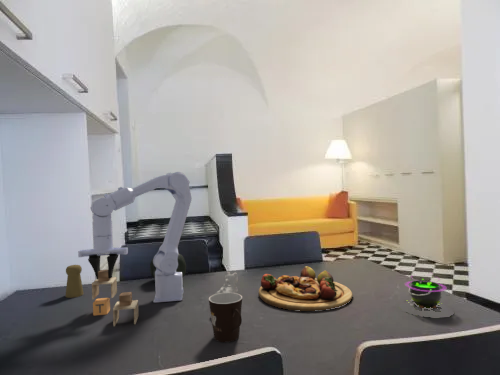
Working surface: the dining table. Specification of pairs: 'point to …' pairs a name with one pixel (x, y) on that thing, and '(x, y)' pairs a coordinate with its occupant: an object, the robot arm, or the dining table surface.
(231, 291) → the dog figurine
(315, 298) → the wooden plate with food
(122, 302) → the cover
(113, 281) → the cover
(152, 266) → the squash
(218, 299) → the coffee mug
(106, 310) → the orange cube
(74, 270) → the cork
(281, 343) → the dining table surface
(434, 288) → the toy cauldron
